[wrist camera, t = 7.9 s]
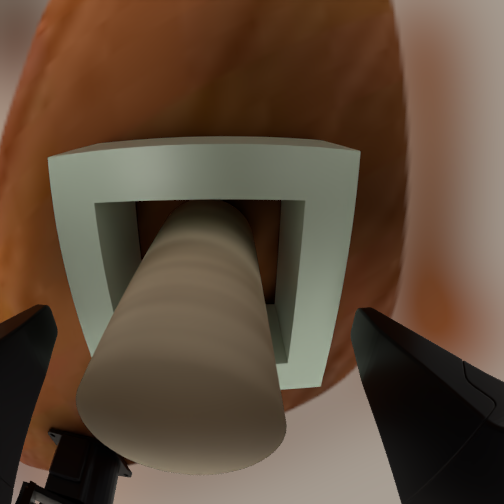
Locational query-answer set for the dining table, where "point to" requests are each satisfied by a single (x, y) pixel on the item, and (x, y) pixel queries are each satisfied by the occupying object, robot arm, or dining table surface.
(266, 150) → the socket
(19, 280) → the dining table surface
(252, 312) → the peg
